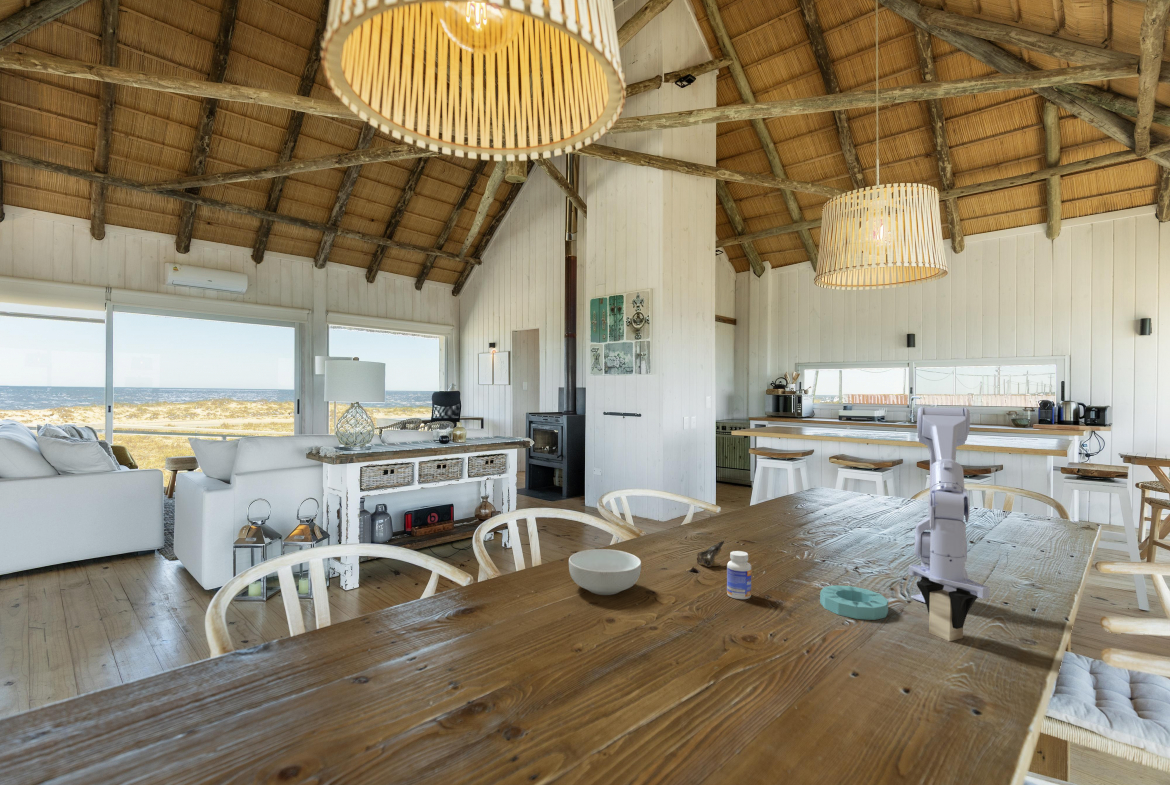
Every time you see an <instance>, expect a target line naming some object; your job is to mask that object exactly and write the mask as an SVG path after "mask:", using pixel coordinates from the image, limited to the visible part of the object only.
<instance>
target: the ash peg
mask: <svg viewBox="0 0 1170 785" xmlns="http://www.w3.org/2000/svg"><path fill="white" fill-rule="evenodd" d="M928 618H929V619H928V633H929V634H930V635H933V636H936V637H938V638H940V639H943V640H945V641H948V642H952V641H956V640H960V639H963V638H964V627H963V628H959V629H955V628H953V625H952V606H951V601H950V597H949V591H946V590H938V591H933V592H930V606H929V613H928Z"/></svg>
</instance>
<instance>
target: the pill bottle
mask: <svg viewBox="0 0 1170 785" xmlns="http://www.w3.org/2000/svg"><path fill="white" fill-rule="evenodd" d="M729 554H730V555H729V559H730V560H729V561H728V562H727V565H726V593H727V596H728V597H730V598H733V599H736V600H748V599H750V598H751V597H752V564H751V563H750V562H748V561H749V554H748V552H746V551H743V550H742V551H741V550H732V551H730V553H729Z"/></svg>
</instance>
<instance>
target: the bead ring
mask: <svg viewBox="0 0 1170 785" xmlns="http://www.w3.org/2000/svg"><path fill="white" fill-rule="evenodd" d="M819 593H820V594H819V595H820V596H819V598H820V599H819V602H820V605H821V606H822V607H823V608H824V609H825V610H827V611H829V612H831V613H834V614H836V615H838V616H842V617H847V618H850V619H855V620H867V621H868V620H871V621H875V620H879V619H884V618H887V615H888V614H889V600H888V599H887V598H886V597H885V596H884V595H883V594H881V593H878V592H876V591H873V590H870V589H868V588H867V589H866V588H861V587H857V586H854V585H853V586H852V585H838V584H837V585H836V584H835V585H830V586H829V585H828V586H824V587H823V588H822V589H821V590H820V592H819Z"/></svg>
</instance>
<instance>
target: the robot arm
mask: <svg viewBox="0 0 1170 785" xmlns="http://www.w3.org/2000/svg"><path fill="white" fill-rule="evenodd" d="M916 414H917V418H916V419H917V421H916V429H917V430H916V431H917V439H918V443H920V444H923V445H925V446H927V449H928V452H929V494H928V500H927V501H928V502H927V504H928V507H927V510H928V511H927V512H928V517H926V518H924V519H923V520H921V521H919V522H918V523H916V525H915V532H914V556H915V557H916V558H917V559H919V560H920V564H919V565H918V564H910V565H908V575H909V576H911V577H918V578H920V580H918V581H916V586H917V588H918V589H919V591H920V593H918V594H914V595H911V599H913V600H916V601H919V602H922V603H924V604H925V606H926V609H927V613H928V614H929V606H930V592H933V591H938V590H946V591H949V597H950V601H951V606H952V625H953V628H955V629H959V628H963V629H964V624H965V622H966V618H967V616H968V613H969V611H970V610H971V608H972V605H973V604H974V603H975V601H977V599H978V598H979V599H982V600H984V599H988V598H990V590H991V588H990V586H987V585H984V584H981V583H978V581H974V580H972V579H971V578H969V574H968V571H967V569H966V563H967V559H968V543H967V542H968V541H967V532H966V530H967V529H966V527H967V523H969V519H970V513H971V512H970V511H971V510H970V509H971V508H970V507H971V506H970V505H971V504H970V499H969V494H968V491H967V488H965V477H964V468H963V466H962V465H961V464H960V463H958V462H957V460H956V458H957V447H960V446H963V445H965V444H966V441H967V440H968V436H969V433H970V429H971V413H970V410H969V408H968V407H941V406H940V407H933V406H930V407H928V406H923V405H921V406H920V407H919V408H917V413H916ZM964 518H965V521H964Z"/></svg>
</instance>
